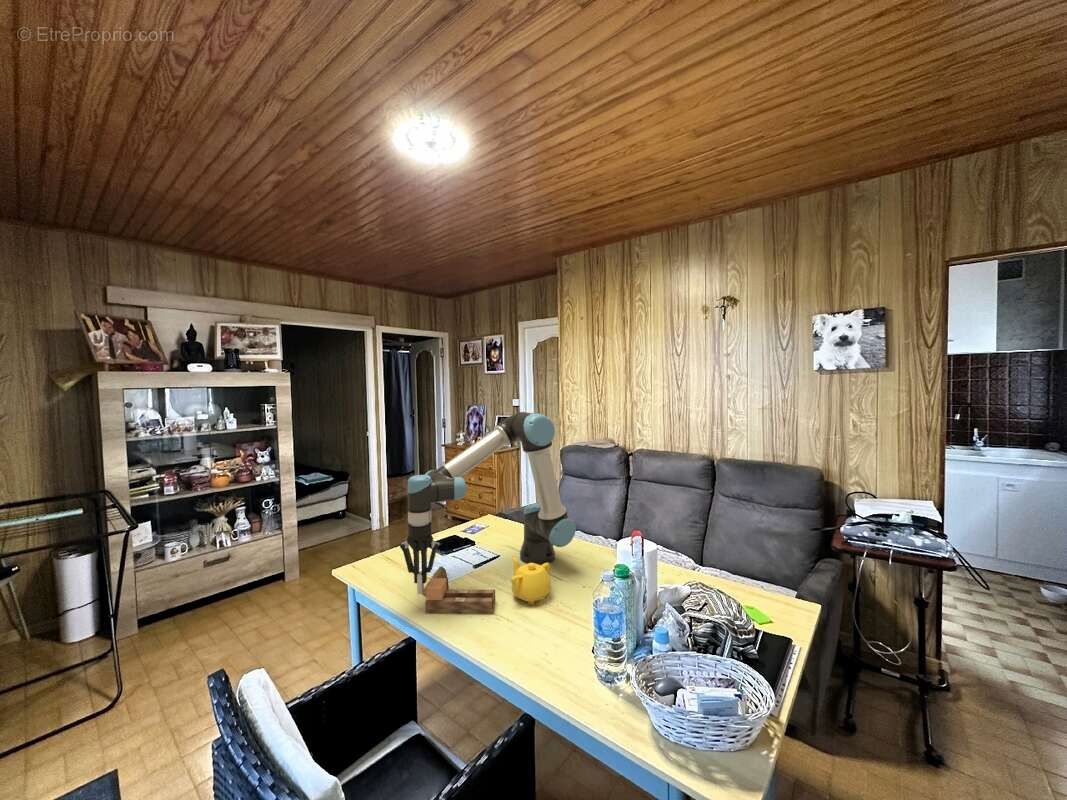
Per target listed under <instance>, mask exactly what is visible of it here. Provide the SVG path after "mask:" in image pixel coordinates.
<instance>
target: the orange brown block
mask: <svg viewBox="0 0 1067 800" xmlns="http://www.w3.org/2000/svg"><path fill="white" fill-rule="evenodd" d="M431 578H432V577H431ZM431 578H430V580H431V581H430V580H429V581H430V583H429V584H428V586H427V596H426V600H442V599H443V598H444V594H445V592H446V578H432V579H431Z"/></svg>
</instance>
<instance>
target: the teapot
mask: <svg viewBox="0 0 1067 800" xmlns="http://www.w3.org/2000/svg"><path fill="white" fill-rule="evenodd" d="M511 559H512V560H513V576H512V577H511V580H510V581H511V591H512V593H513V594H514V595H515V597H517V598H516V599H518V600H522V601H525V602H527V605H529V606H533V604H534V603H535V602H536V601H540V600H543V599H542V598H545V599H547V595H548V594H549V593H550V592H551V589H552V583H551V579H550V576H549V573H550V570H551V569H550V568H551V564H550V563H544V564H540V565H538V564H535V563H526V564H523V565H521V566H520V563H519V561H518V558H517V557H515V556H511ZM534 605H535V604H534Z"/></svg>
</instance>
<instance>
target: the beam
mask: <svg viewBox="0 0 1067 800" xmlns="http://www.w3.org/2000/svg"><path fill="white" fill-rule="evenodd" d="M495 604H496V589H495V588H493V589H467V588H462V589H461V588H459V589H449V590H446V592H445V594H444V598H443V599H442V600H427V599H425V606H424V607H425V614H427V615H435V614H436V615H438V614H439V615H440V614H441V615H445V614H446V615H448V614H449V615H450V614H451V615H453V614H454V615H455V614H456V615H457V614H458V615H461V614H463V615H468V614H469V615H472V614H473V615H479V614H480V615H481V614H483V615H484V614H486V615H487V614H489V615H490V614H493V615H494V610H495V606H496V605H495Z"/></svg>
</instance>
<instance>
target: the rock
mask: <svg viewBox="0 0 1067 800" xmlns="http://www.w3.org/2000/svg"><path fill="white" fill-rule="evenodd" d="M432 578H446V590H450V585H449V577H448V573H447V569H446V568H445V567H443V566H442V565H441V566H439V567H438V568H437V570H436V571H435V572H434V573H433V574H432V576H431V578H430V580H428V582H426V583H427V584H426V585H425V586H424V591H423V593H422V594H421V595H424V596H426V597H427V586H428V584H429V583H430V581H431V579H432Z"/></svg>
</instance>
